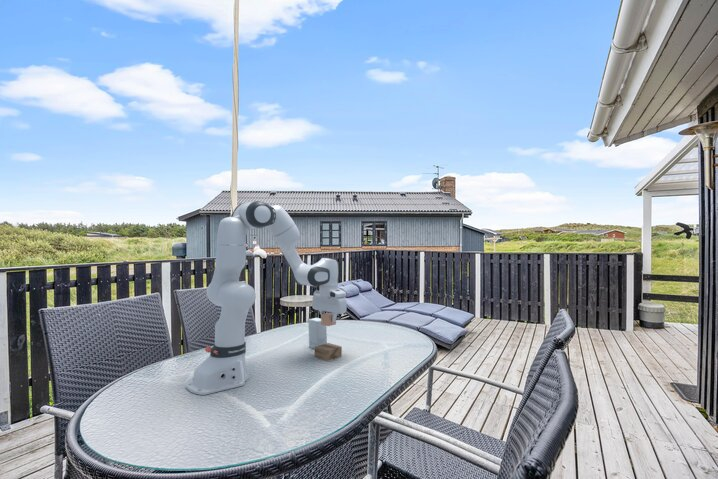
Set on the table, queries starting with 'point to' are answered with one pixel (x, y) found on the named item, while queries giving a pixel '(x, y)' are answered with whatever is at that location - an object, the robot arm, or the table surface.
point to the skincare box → (316, 333)
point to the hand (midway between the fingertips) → (328, 320)
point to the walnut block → (328, 351)
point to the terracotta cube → (327, 319)
